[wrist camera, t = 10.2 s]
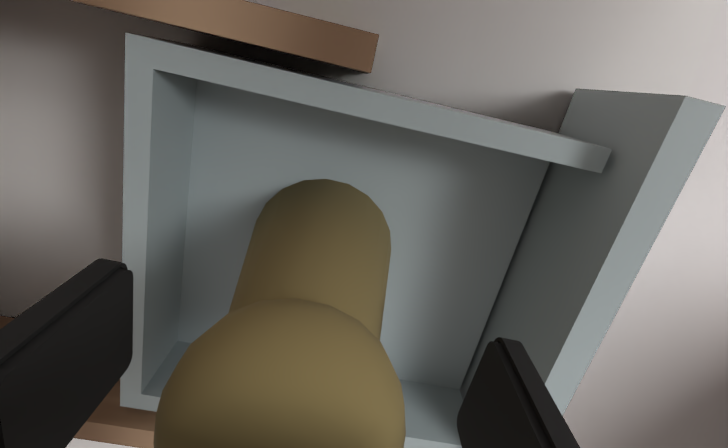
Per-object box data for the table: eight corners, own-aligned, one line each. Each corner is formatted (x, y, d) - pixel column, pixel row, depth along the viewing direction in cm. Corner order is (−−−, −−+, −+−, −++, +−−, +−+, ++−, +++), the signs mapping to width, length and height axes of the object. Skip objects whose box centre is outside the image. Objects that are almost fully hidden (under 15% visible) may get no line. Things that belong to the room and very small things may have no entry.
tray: (625, 101, 16) (758, 114, 11) (484, 422, 22) (524, 532, 17) (189, -10, 14) (90, -58, 9) (165, 368, 21) (97, 472, 15)
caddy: (372, 46, 16) (379, 34, 11) (300, 382, 21) (284, 469, 17) (-95, -71, 14) (-323, -144, 9) (-36, 326, 20) (-158, 403, 15)
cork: (252, 172, 16) (63, 346, 6) (399, 184, 16) (468, 371, 6) (253, 300, 18) (117, 593, 8) (383, 309, 18) (415, 605, 8)
